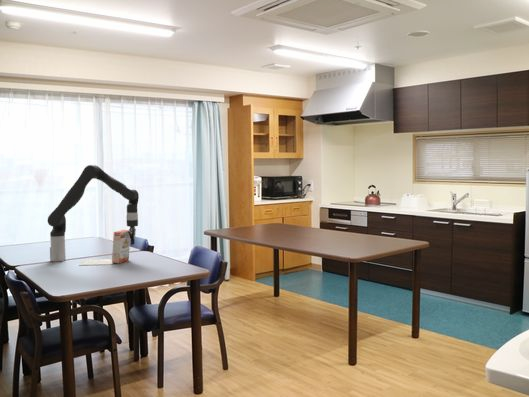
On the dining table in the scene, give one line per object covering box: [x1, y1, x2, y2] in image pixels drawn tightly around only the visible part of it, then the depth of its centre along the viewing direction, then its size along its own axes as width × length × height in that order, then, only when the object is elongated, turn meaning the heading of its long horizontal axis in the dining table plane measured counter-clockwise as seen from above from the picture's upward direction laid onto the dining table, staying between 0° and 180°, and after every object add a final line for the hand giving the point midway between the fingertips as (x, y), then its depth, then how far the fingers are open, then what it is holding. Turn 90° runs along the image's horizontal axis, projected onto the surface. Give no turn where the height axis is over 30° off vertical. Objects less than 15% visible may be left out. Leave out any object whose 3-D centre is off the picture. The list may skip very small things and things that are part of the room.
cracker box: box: [111, 229, 131, 264], centre depth 333 cm, size 14×6×21 cm, turn 168°
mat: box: [78, 258, 114, 267], centre depth 332 cm, size 21×18×1 cm
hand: (132, 244), depth 334 cm, fingers closed
